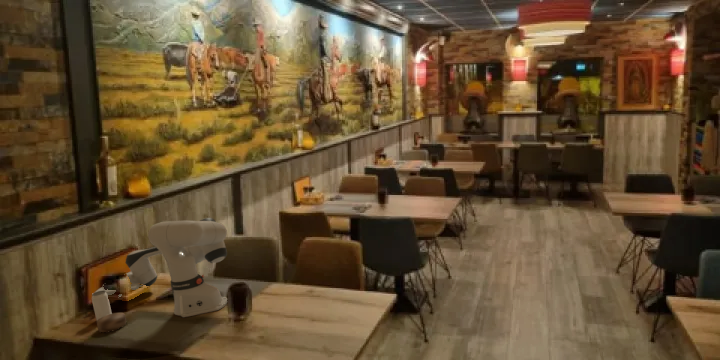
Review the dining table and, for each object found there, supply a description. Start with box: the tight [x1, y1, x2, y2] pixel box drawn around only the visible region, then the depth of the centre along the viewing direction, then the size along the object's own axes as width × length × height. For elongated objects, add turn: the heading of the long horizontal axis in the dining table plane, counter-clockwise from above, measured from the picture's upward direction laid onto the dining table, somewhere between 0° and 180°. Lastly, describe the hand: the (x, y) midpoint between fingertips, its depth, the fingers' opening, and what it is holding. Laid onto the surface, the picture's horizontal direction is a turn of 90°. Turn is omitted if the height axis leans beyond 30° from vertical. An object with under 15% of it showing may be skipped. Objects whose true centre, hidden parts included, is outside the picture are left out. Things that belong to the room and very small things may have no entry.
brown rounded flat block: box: [96, 312, 127, 333], centre depth 239 cm, size 11×11×4 cm
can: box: [91, 291, 113, 321], centre depth 250 cm, size 6×6×12 cm
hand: (110, 298), depth 259 cm, fingers open, 8 cm apart
